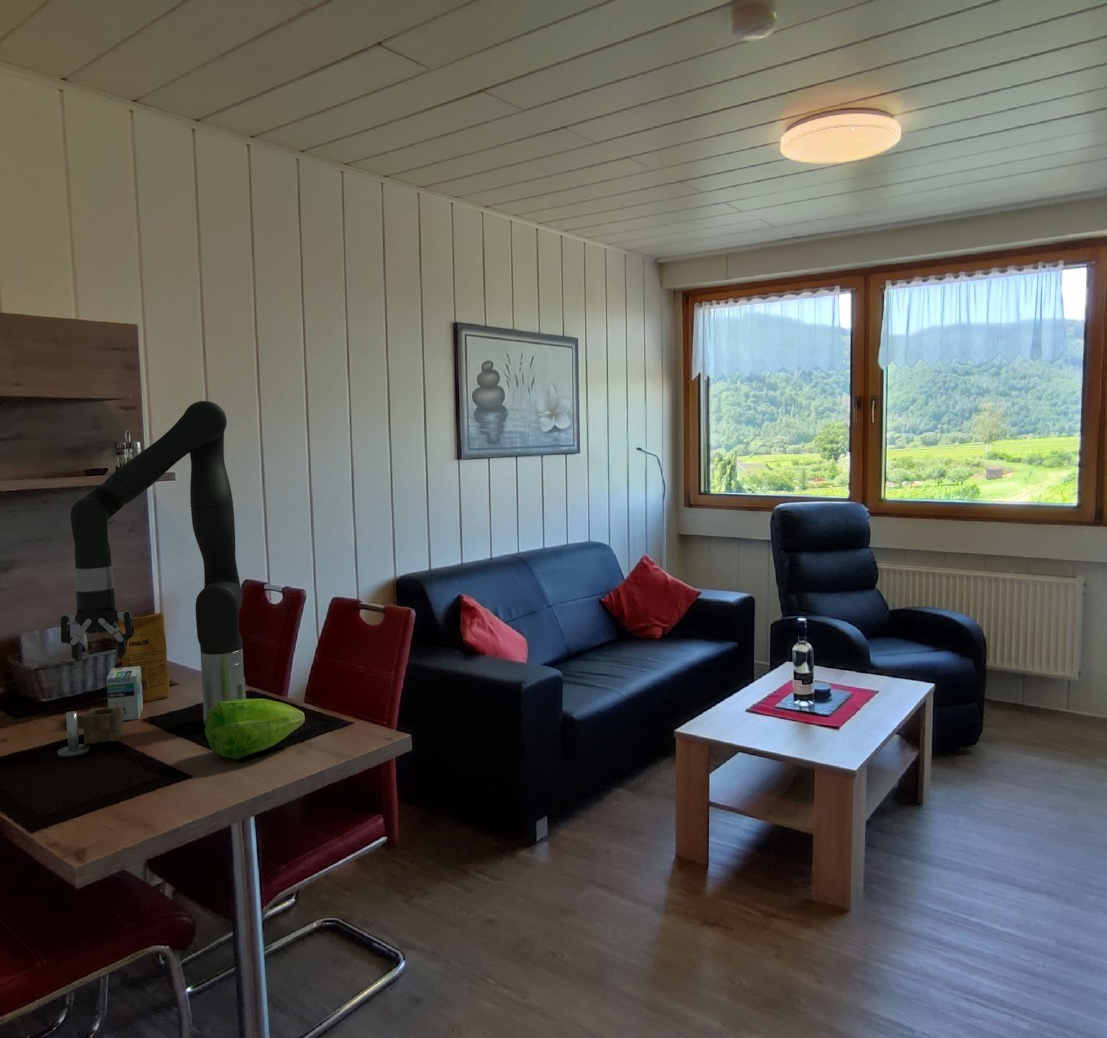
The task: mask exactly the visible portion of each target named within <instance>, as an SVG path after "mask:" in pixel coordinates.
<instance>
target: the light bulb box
mask: <svg viewBox="0 0 1107 1038" xmlns="http://www.w3.org/2000/svg"><path fill="white" fill-rule="evenodd" d="M106 690H107V691H106V692H107V707H118V706H122V721H132V720H139V719H140V717H141V714H142V711H143V709H144V705H143V703H144V702H143V700H142V681H141V667H140V666H136V667H125V668H115V667H114V668H113V667H112V668H111V670H110V672H109V673H108V675H107V677H106Z"/></svg>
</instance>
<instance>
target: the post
mask: <svg viewBox="0 0 1107 1038" xmlns="http://www.w3.org/2000/svg"><path fill="white" fill-rule="evenodd" d="M65 719H66V735H67V746H63V747H62V748H60V749H58V750H57V756H58V757H61V758H73V757H78V756H82V755H85V754H86V753H88V752H89V751H90V750H91V746H90V745H88V744H84V743H83V744H82V743H81V744H80V743H79V742H80V741H79V727H78V726H79V723H78V722H79V721H78V711H76V710H75V711H74V710H73V711H67V712H66V713H65Z"/></svg>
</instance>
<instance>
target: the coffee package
mask: <svg viewBox="0 0 1107 1038" xmlns="http://www.w3.org/2000/svg"><path fill="white" fill-rule="evenodd" d="M132 617H133V625H134V632H135V634H134V635H133V636H132V637H131V638H129V639H126V654H125V655H124V656H123V657H122V658H118V649H117V647H116V648H115V663H114V668H125V667H136V666H140V667H141V681H142V700H143V703H145V702H146V703H147V702H149V703H150V702H154V701H157V700H162V699H164V698H168V697H169V695H170V678H169V671H168V670H169V669H168V658H167V657H168V656H167V651H168V650H167V641H166V634H165V628H164V627H165V624H164V623H165V618H164V614H163V612H157V613H154V614H149V615H144V616H141V617H140V616H139V617H137V616H136V617H135V616H132ZM118 627H119V628H120V630H121V631H122V632H123V633H124V634H125V633H126V630H125V622H123V621H121V618H119V617H118ZM117 642H118V640H117V639H116V643H117Z"/></svg>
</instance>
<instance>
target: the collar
mask: <svg viewBox="0 0 1107 1038" xmlns="http://www.w3.org/2000/svg"><path fill="white" fill-rule="evenodd" d="M82 726H83V727H82V730H83V742H84V743H83V744H86V745H88V743H90V744H99V743H98V742H101V743H107V742H106V741H112V742H117V741H118V739H119V738H120V737H121V735H122V734H123V733H124V724H123V721H122V706H118V707H108V706H107V707H96V708H95V707H94V708H90V709H89V710H88V711H87V712H86V713H85V715H84V716H82Z"/></svg>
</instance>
